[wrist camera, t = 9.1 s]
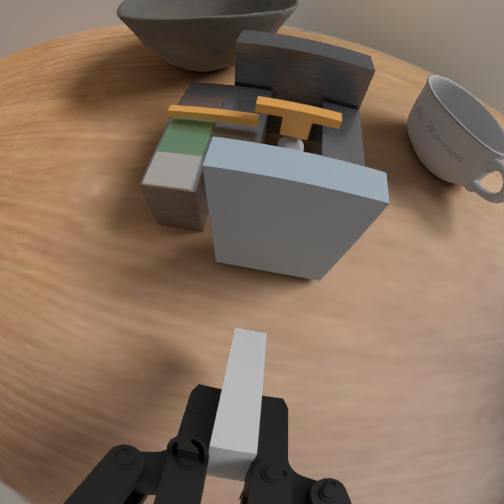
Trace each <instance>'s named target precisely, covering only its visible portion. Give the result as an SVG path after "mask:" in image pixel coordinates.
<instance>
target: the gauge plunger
mask: <svg viewBox="0 0 504 504" xmlns="http://www.w3.org/2000/svg"><path fill="white" fill-rule="evenodd" d="M303 150H304V144H303V142H302V141H301V140H300V139H298V138H295V137H290V136H286V137H283V138H281V139H280V140H279V141H278V145H277V146H272V145H266V144H260V143H254V142H248V141H242V140H235V139H228V138H221V137H213V138H212V141H211V143H210V146H209V149H208V152H207V155H206V157H205V160H204V163H203V172H204V180H205V188H206V195H207V202H208V210H209V217H210V224H211V231H212V238H213V244H214V251H215V257H216V262H220V263H225V264H230V265H236V266H241V267H247V268H252V269H257V270H263V271H268V272H274V273H280V274H285V275H291V276H296V277H302V278H308V279H313V280H319V281H320V280H321V279H322V278H323V277H324V275H325V274H326V273H327V272H328V271H329V270H330V269H331V268H332V267H333V266H334V265H335V264H336V263H337V262H338V261H339V260H340V258H341V257H342V256H343V255H344V254H345V253H346V252H347V251H348V250H349V249H350V248H351V246H352V245H353V244H354V243H355V242H356V241H357V240H358V239H359V238H360V236H361V235H362V234H363V233H364V232H365V231H366V230H367V229H368V227H369V226H370V225H371V224H372V223H373V222H374V221H375V219H376V218H377V217H378V216H379V215H380V214H381V213H382V211H383V210H384V209H385V208H386V207H387V205H388V204H389V195H388V185H387V175H386V173H385V172H382V171H379V170H375V169H372V168H368V167H364V166H361V165H357V164H353V163H349V162H346V161H342V160H338V159H333V158H329V157H325V156H321V155H316V154H312V153H307V152H303Z"/></svg>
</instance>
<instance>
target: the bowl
mask: <svg viewBox="0 0 504 504" xmlns="http://www.w3.org/2000/svg"><path fill="white" fill-rule="evenodd" d="M298 5H299V2H298V0H125V1H123V3H121V5H120V6H119V8H118V10H117V15H118V17H119V18H120V19H121V20H122V21H123V22H124V23H125V24H126V25H127V26H128V27H129V28H130V29H131V30H132V31H133V32H134V34H135V35H136V36H137V37H138V38H139V39H140V41H141V42H142V43H143V44H144V45H145V46H146V47H147V48H148V49H150V50H151V51H152V52H153V53H155V54H156V55H157V56H159V57H160V58H161V59H163V60H164V61H166V62H168V63H170V64H172V65H175V66H177V67H180V68H183V69H186V70H190V71H200V72H205V71H214V70H218V69H222V68H225V67H228V66H231V65H234V64H235V61H236V41H237V39H238V38H239V36H240V34H241V32H242V31H243V30H251V31H260V32H268V33H276V32H277V31H278V29H279V28H280V27H281V26H282V25H283V23H284V22H285V21H286V20H287V19H288V18H289V17H290V15H291V14H292V13H293V12H294V11H295V9H296V8H297V6H298Z"/></svg>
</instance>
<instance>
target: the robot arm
mask: <svg viewBox="0 0 504 504" xmlns="http://www.w3.org/2000/svg"><path fill="white" fill-rule="evenodd" d="M266 334H267V333H262V332H256V331H251V330H245V329H240V328H235V332H234V337H233V341H232V346H231V351H230V355H229V360H228V364H227V369H226V373H225V378H224V383H223V387H222V389H218V388H213V387H209V386H204V385H200V384H199V385H198V386H197V387H196V388H195V389H194V390H193V391H192V392H191V394H190V397H189V400H188V404H187V406H186V410H185V413H184V416H183V419H182V422H181V425H180V428H179V432H178V435H177V436H176V437H174V438H173V439H171V440H170V442H169V443H168V445H167V450H164V451H161V452H140V451H139V450H138V449H137V448H135V447H133V446H130V445H118V446H115V447H113V448H112V449H111V450H110V451H109V452H108V453H107V454H106V455H105V456H104V458H103V459H102V460H101V461H100V462H99V463H98V465H97V466H96V467H95V468H94V469H93V470H92V472H91V473H90V474H89V475H88V476H87V477H86V479H85V480H84V481H83V482H82V483H81V484H80V485H79V487H78V488H77V489H76V490H75V491H74V492H73V493H72V495H71V496H70V497H69V498H68V499H67V500H66V501H65V503H64V504H143V502H144V501H145V500H146V498H147V497H148V495H156V497H155V501H154V504H200V503H201V498H202V493H203V489H204V483H205V478H206V475H209V476H215V477H220V478H226V479H232V480H239V481H244V480H245V484H244V489H243V491H242V493H241V495H240V497H239V499H241V502H240V504H351V501H350V499H349V496H348V493H347V491H346V489H345V487H344V485H343V484H342V483H341V482H339V481H338V480H335V479H332V478H324V479H321V480H319V481H316V480H313V479H310V478H307V477H304V476H301V475H299V474H297V473H296V472H295V471H294V470H293V469H292V468H291V467H290V465H289V462H288V407H287V405H286V403H285V401H284V399H282V398H274V397H267V396H262V388H263V375H264V362H265V348H266Z"/></svg>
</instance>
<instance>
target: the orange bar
mask: <svg viewBox="0 0 504 504" xmlns="http://www.w3.org/2000/svg"><path fill="white" fill-rule="evenodd" d="M255 112H258V113H264V114H270V115H276V116H281V117H283V119H282V124H281V129H280V135H284V136H290V137H295V138H299V139H304V140H307V138H308V135H309V132H310V129H311V125H312V123H315V124H320V125H324V126H328V127H332V128H336V129H339V128H340V125H341V123H342V113H338V112H335V111H331V110H327V109H322V108H318V107H314V106H309V105H305V104H300V103H295V102H290V101H285V100H279V99H273V98H267V97H261V96H258V98H257V102H256V109H255ZM168 115H169V117H177V118H190V119H200V120H210V121H219V122H227V123H234V124H241V125H248V126H255V127H257V125H258V121H259V114H253V113H247V112H239V111H232V110H223V109H214V108H204V107H193V106H179V105H170V107H169V109H168Z"/></svg>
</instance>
